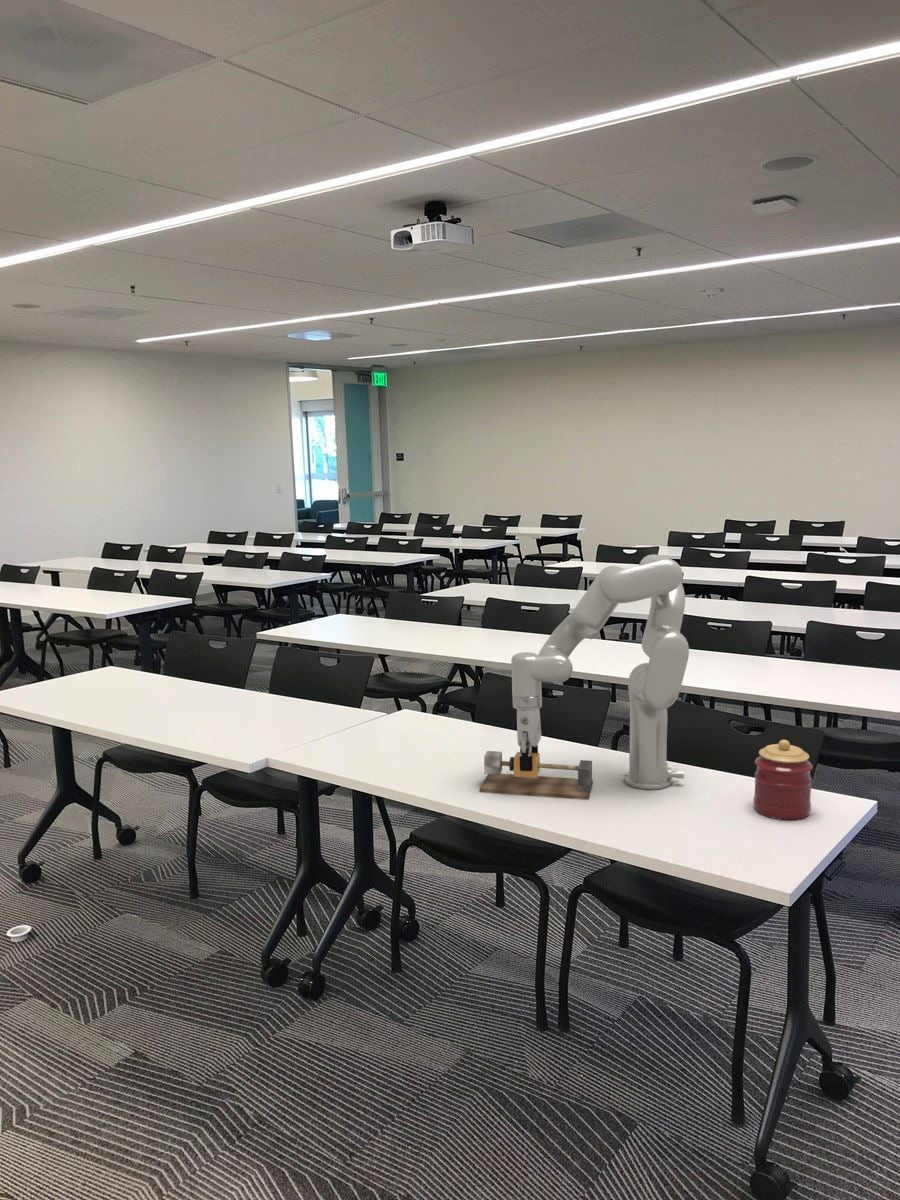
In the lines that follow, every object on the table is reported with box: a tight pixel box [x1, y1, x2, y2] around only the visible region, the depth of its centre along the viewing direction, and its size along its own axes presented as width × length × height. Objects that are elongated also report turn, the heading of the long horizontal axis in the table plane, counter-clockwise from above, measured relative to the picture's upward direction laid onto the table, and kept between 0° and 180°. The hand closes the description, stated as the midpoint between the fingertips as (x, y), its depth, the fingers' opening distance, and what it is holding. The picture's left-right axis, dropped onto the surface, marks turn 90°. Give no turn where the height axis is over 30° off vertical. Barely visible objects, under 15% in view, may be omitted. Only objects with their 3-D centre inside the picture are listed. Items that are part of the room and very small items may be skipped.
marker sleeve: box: [513, 751, 541, 778], centre depth 235 cm, size 6×5×5 cm
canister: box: [753, 739, 813, 820], centre depth 216 cm, size 13×13×18 cm
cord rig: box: [479, 750, 594, 801], centre depth 235 cm, size 28×12×8 cm, turn 76°
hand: (529, 764), depth 235 cm, fingers open, 9 cm apart
